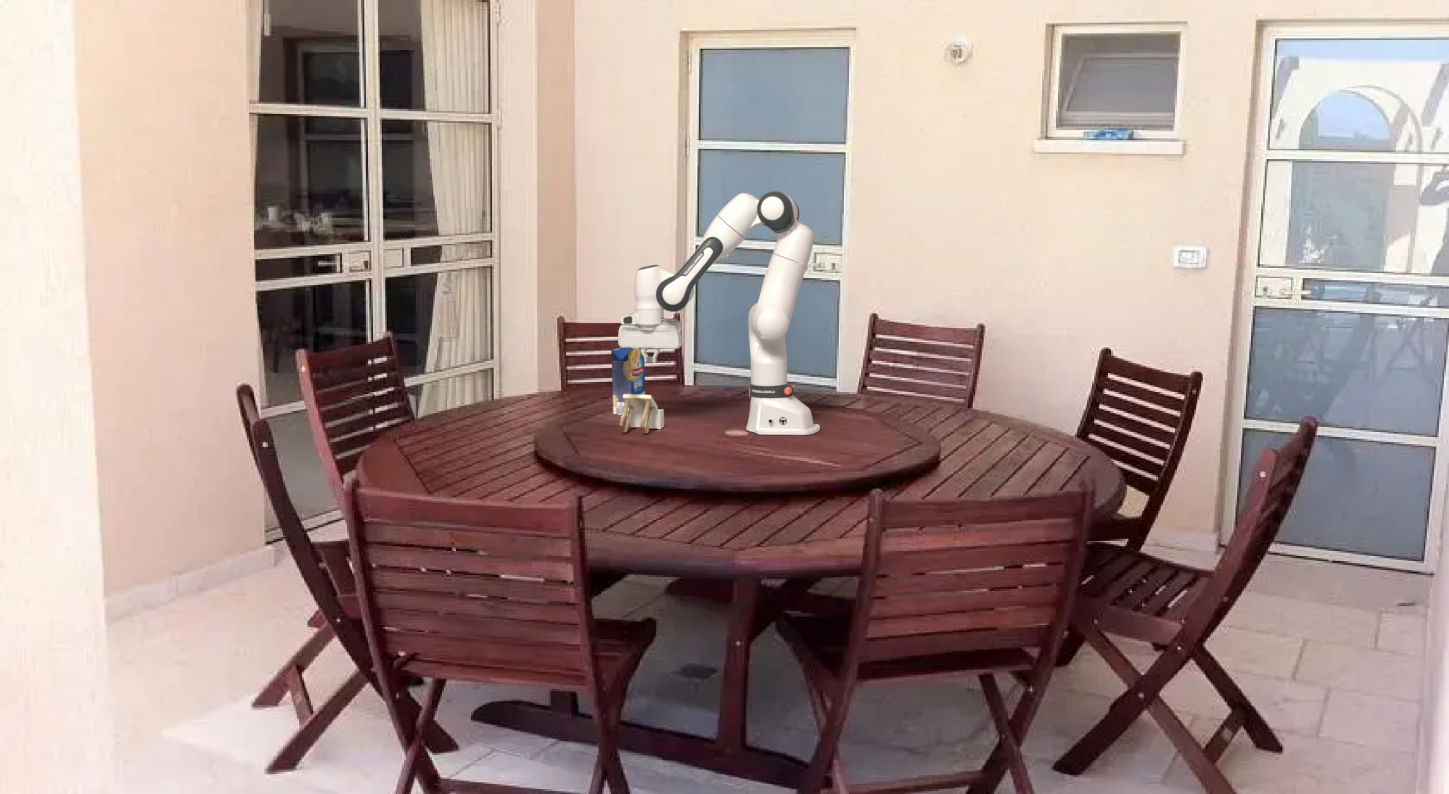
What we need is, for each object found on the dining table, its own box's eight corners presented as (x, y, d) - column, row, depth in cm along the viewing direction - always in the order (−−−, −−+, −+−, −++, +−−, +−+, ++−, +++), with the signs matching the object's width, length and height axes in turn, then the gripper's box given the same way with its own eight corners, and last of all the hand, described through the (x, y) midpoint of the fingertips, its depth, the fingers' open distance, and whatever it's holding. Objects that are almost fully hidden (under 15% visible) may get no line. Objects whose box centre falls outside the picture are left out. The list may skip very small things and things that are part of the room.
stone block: (664, 428, 417) (663, 409, 416) (660, 430, 414) (660, 411, 413) (634, 427, 420) (633, 408, 419) (630, 428, 417) (629, 409, 416)
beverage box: (645, 412, 447) (644, 346, 443) (632, 418, 436) (630, 350, 433) (626, 411, 449) (625, 346, 445) (613, 417, 439) (611, 350, 435)
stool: (650, 435, 408) (658, 406, 413) (643, 424, 402) (651, 395, 407) (623, 434, 411) (630, 405, 416) (615, 422, 405) (623, 394, 410)
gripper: (684, 317, 415) (685, 362, 418) (623, 316, 422) (624, 360, 424) (677, 319, 409) (678, 364, 412) (615, 318, 416) (616, 363, 418)
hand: (650, 362), depth 418 cm, fingers closed
